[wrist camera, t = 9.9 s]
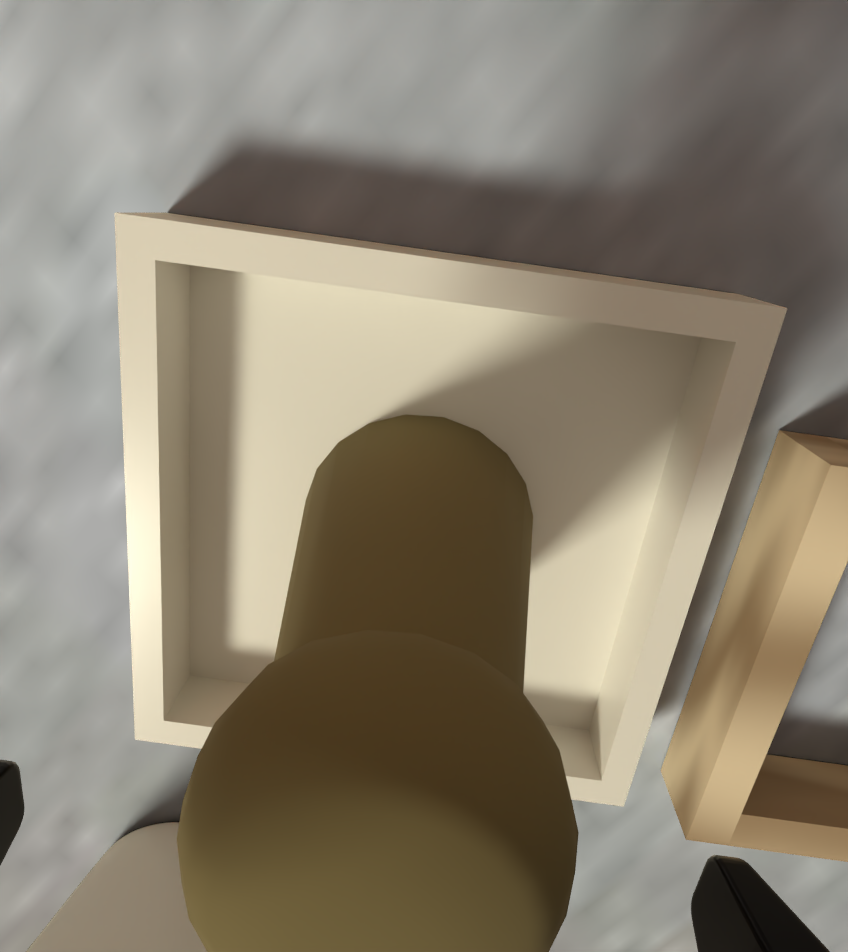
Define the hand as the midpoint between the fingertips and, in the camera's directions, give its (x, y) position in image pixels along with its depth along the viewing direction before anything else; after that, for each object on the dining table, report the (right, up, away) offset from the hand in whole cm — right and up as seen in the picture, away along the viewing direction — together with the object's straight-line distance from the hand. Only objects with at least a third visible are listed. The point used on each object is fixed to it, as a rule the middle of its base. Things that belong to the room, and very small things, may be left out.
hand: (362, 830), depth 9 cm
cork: (+1, +3, +9) cm, 10 cm away
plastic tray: (+1, +4, +10) cm, 10 cm away
